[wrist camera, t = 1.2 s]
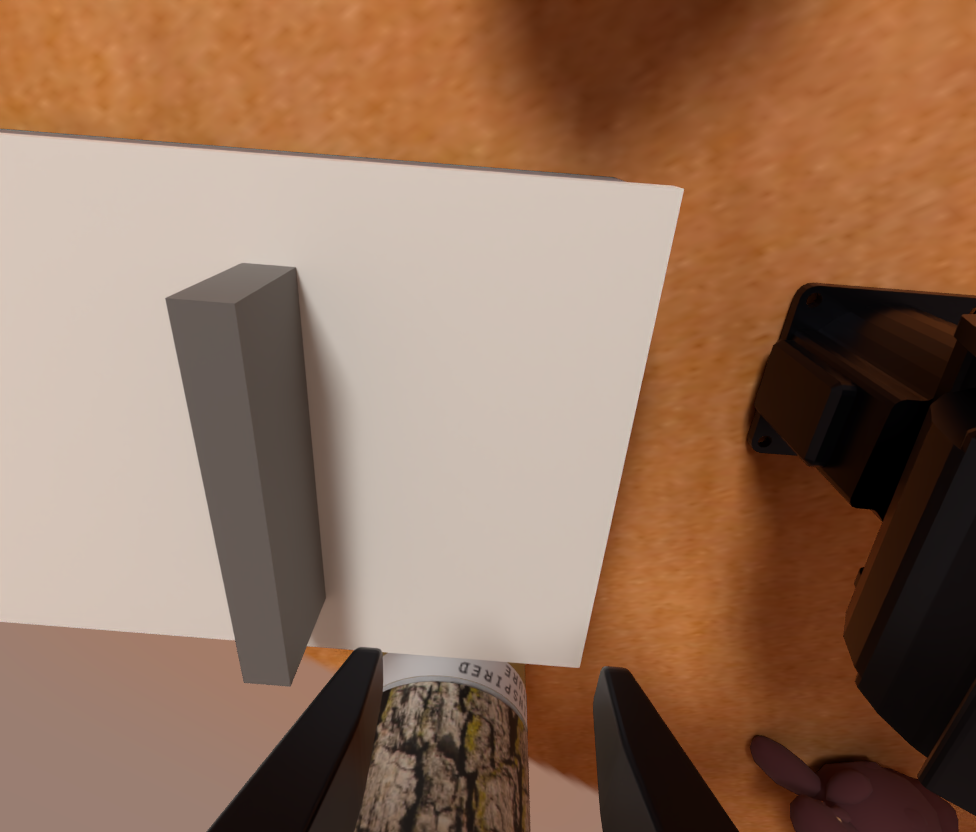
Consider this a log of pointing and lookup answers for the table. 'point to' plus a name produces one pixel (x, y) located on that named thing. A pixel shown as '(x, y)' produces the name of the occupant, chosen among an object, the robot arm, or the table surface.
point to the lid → (316, 397)
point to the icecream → (853, 795)
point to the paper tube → (449, 748)
